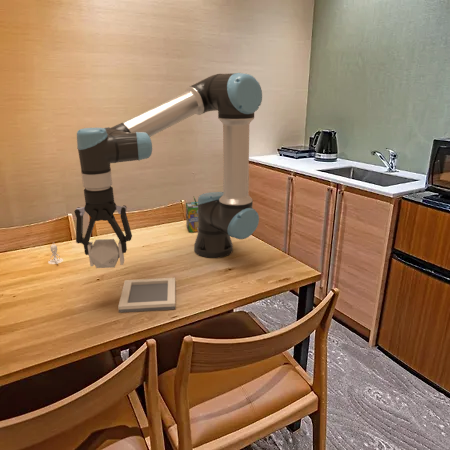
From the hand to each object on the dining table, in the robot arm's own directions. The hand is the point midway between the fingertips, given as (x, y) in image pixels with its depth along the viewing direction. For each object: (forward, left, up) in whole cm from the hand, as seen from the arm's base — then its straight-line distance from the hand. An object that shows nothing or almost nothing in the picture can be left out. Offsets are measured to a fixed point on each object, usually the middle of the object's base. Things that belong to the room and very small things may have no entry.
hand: (107, 263), depth 113 cm
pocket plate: (-11, -1, -12) cm, 17 cm away
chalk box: (-29, -60, -13) cm, 68 cm away
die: (0, 0, -1) cm, 1 cm away
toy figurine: (+24, -30, -13) cm, 40 cm away
